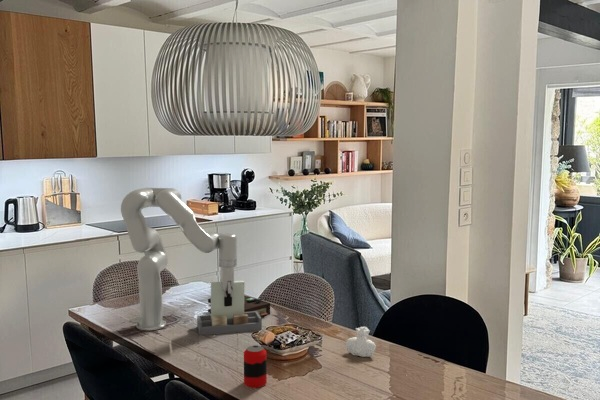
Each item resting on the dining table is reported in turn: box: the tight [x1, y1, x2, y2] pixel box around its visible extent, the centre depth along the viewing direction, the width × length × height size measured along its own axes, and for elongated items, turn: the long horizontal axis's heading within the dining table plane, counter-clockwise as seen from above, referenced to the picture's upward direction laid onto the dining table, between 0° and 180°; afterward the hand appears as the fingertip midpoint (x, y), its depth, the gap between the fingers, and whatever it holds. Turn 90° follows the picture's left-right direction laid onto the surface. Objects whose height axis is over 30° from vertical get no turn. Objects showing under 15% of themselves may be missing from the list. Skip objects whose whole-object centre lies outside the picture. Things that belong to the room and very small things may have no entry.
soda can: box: [243, 345, 268, 389], centre depth 188 cm, size 8×8×12 cm
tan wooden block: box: [233, 314, 248, 324], centre depth 239 cm, size 6×3×6 cm, turn 105°
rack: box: [196, 311, 263, 336], centre depth 240 cm, size 26×10×6 cm, turn 105°
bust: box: [345, 326, 377, 358], centre depth 215 cm, size 12×8×11 cm
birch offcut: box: [212, 316, 227, 326], centre depth 237 cm, size 6×3×6 cm, turn 105°
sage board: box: [210, 280, 245, 320], centre depth 242 cm, size 14×2×18 cm, turn 105°
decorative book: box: [207, 294, 271, 318], centre depth 264 cm, size 19×8×30 cm
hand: (227, 304), depth 242 cm, fingers closed on sage board, 2 cm apart
